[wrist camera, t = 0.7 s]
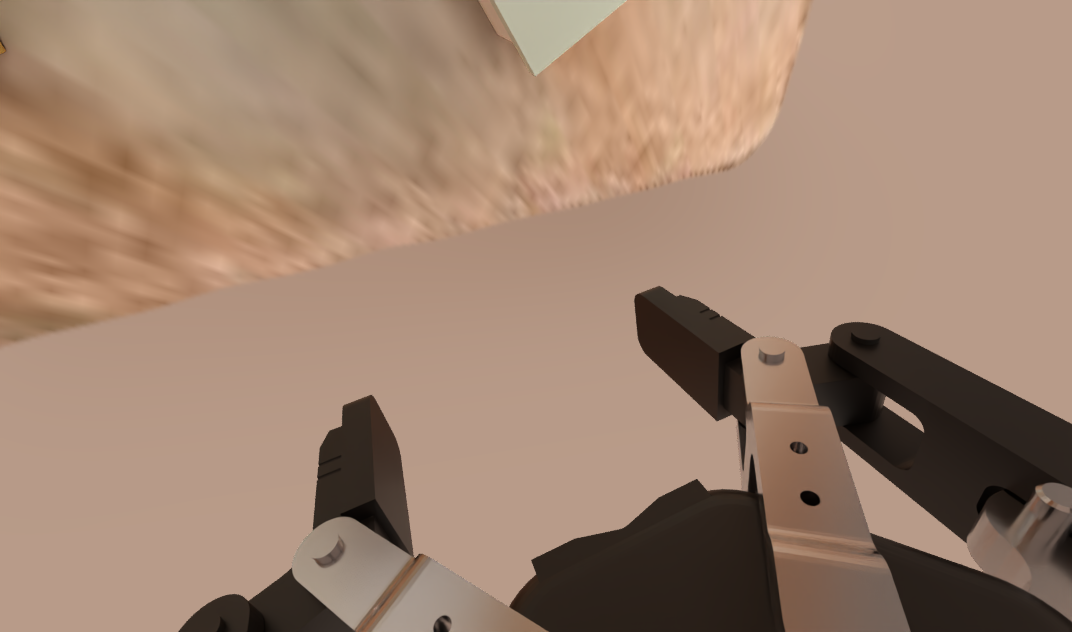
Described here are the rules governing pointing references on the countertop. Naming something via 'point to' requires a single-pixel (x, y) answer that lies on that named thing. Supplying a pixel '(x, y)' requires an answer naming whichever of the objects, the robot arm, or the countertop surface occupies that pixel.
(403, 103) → the countertop surface
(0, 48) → the candy box
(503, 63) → the countertop surface
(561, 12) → the lid
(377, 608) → the robot arm
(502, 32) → the storage box
